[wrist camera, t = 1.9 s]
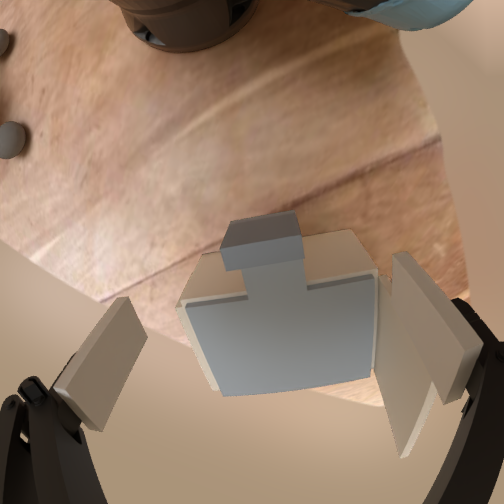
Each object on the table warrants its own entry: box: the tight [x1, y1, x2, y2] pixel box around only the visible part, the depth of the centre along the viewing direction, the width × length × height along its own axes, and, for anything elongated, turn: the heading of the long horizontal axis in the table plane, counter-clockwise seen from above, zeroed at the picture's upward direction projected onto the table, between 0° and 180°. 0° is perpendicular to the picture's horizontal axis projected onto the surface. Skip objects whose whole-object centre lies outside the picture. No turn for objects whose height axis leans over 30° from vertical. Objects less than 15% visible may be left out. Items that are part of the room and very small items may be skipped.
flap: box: [185, 210, 375, 396], centre depth 24 cm, size 20×17×5 cm
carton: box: [175, 229, 437, 459], centre depth 27 cm, size 14×20×22 cm
